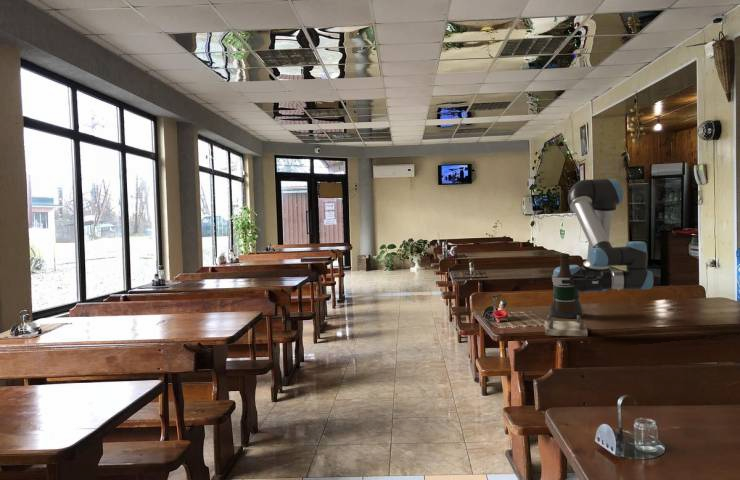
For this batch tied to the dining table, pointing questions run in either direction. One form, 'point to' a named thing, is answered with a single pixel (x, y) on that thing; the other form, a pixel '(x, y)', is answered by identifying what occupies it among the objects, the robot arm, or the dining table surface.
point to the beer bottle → (565, 288)
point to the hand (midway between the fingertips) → (552, 280)
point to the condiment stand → (565, 327)
